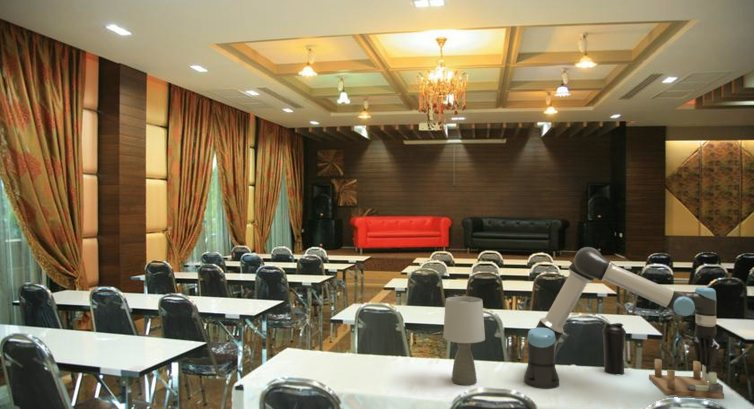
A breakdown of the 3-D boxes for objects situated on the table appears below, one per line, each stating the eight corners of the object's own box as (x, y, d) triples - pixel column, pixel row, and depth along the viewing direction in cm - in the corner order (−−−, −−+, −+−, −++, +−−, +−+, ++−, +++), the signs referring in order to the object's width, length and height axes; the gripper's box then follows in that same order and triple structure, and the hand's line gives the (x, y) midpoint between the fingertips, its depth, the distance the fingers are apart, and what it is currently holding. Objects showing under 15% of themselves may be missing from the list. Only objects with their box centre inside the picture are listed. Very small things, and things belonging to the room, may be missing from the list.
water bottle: (628, 375, 248) (628, 326, 248) (605, 374, 250) (604, 325, 250) (623, 369, 257) (622, 321, 258) (600, 368, 259) (600, 320, 260)
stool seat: (665, 395, 222) (665, 372, 222) (649, 378, 243) (648, 357, 243) (724, 398, 218) (723, 375, 218) (701, 381, 239) (701, 360, 239)
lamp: (435, 381, 239) (434, 299, 240) (458, 372, 253) (458, 294, 253) (470, 391, 227) (470, 304, 227) (493, 381, 240) (492, 299, 241)
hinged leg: (689, 390, 221) (688, 372, 221) (686, 387, 224) (686, 370, 224) (718, 392, 219) (718, 374, 219) (714, 389, 222) (714, 371, 222)
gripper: (686, 321, 230) (686, 376, 230) (710, 328, 218) (711, 386, 217) (701, 320, 232) (701, 375, 232) (726, 327, 219) (726, 384, 219)
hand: (706, 380), depth 225 cm, fingers closed
